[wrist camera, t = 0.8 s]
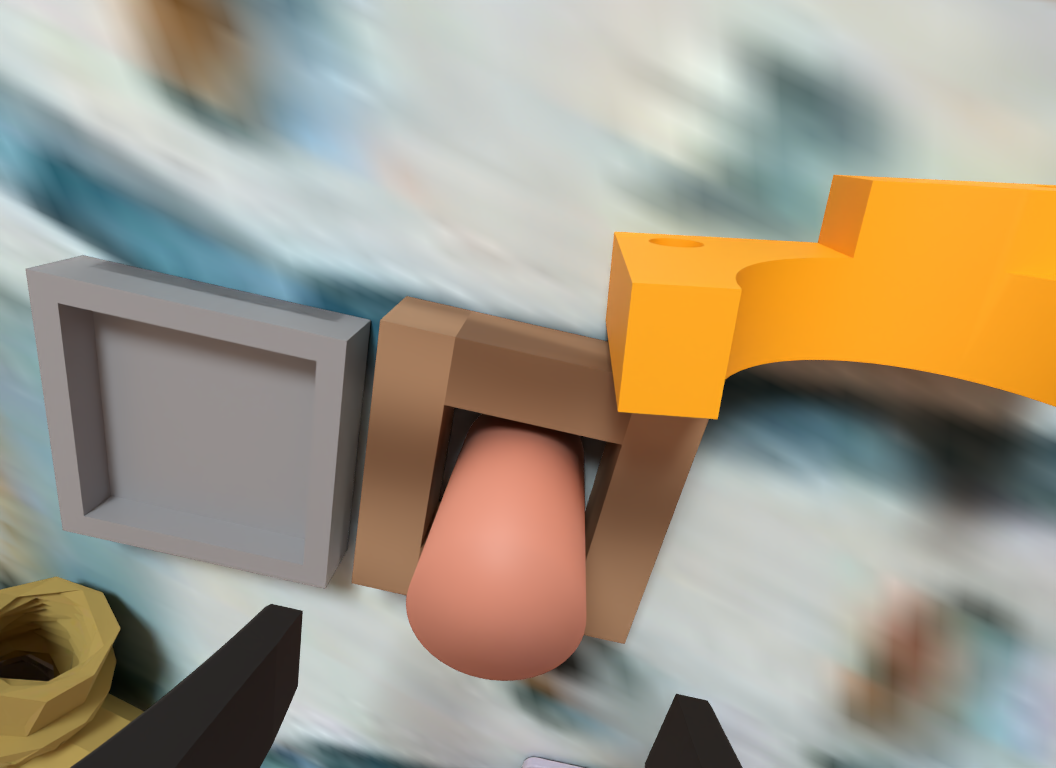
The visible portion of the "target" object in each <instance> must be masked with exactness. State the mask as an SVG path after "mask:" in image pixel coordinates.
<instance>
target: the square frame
mask: <svg viewBox="0 0 1056 768" xmlns="http://www.w3.org/2000/svg"><path fill="white" fill-rule="evenodd" d="M455 407H456V408H460V409H465V410H469V411H474V412H478V413H483V414H487V415H492V416H496V417H500V418H505V419H509V420H514V421H518V422H523V423H527V424H532V425H536V426H541V427H545V428H549V429H554V430H558V431H563V432H567V433H572V434H576V435H581V436H585V437H589V438H594V439H598V440H603V441H606V444H605V448H604V451H603V454H602V458H601V461H600V464H599V468H598V471H597V474H596V478H595V481H594V484H593V488H592V491H591V494H590V497H589V501H588V504H587V507H586V511H585V556H586V627H585V631H584V635H587V636H591V637H596V638H600V639H605V640H609V641H614V642H618V643H623V644H625V641H626V638H627V636H628V633H629V630H630V628H631V625H632V622H633V620H634V617H635V614H636V612H637V609H638V607H639V604H640V601H641V599H642V596H643V593H644V591H645V588H646V585H647V583H648V580H649V577H650V575H651V572H652V569H653V567H654V564H655V561H656V559H657V556H658V553H659V551H660V548H661V545H662V543H663V540H664V537H665V535H666V532H667V529H668V527H669V524H670V521H671V519H672V516H673V513H674V511H675V508H676V505H677V503H678V500H679V497H680V495H681V492H682V489H683V487H684V484H685V481H686V479H687V476H688V473H689V471H690V468H691V465H692V463H693V460H694V457H695V455H696V452H697V449H698V447H699V444H700V441H701V439H702V436H703V433H704V431H705V428H706V425H707V423H708V420H709V419H708V418H694V417H681V416H667V415H654V414H640V413H626V412H618V409H617V401H616V394H615V386H614V379H613V371H612V364H611V356H610V349H609V342H607V341H603V340H599V339H594V338H590V337H585V336H581V335H576V334H572V333H568V332H563V331H559V330H554V329H550V328H545V327H541V326H537V325H532V324H528V323H523V322H519V321H514V320H510V319H506V318H501V317H497V316H492V315H488V314H483V313H479V312H475V311H470V310H466V309H461V308H457V307H452V306H448V305H444V304H439V303H435V302H430V301H426V300H421V299H417V298H413V297H408V296H406V297H405V298H404V299H403V300H402V301H401V302H400V303H399V304H398V305H396V306H395V307H394V308H393V309H392V310H391V311H390V312H389V313H388V314H387V315H385V316H384V317H383V318H382V319H381V320H380V328H379V337H378V346H377V355H376V364H375V373H374V382H373V392H372V401H371V410H370V419H369V428H368V437H367V446H366V455H365V464H364V474H363V483H362V492H361V501H360V510H359V519H358V528H357V537H356V546H355V556H354V565H353V574H352V583H354V584H358V585H363V586H367V587H372V588H376V589H381V590H385V591H390V592H394V593H398V594H403V595H407V592H408V588H409V585H410V582H411V580H412V577H413V575H414V572H415V569H416V567H417V564H418V561H419V559H420V556H421V553H422V551H423V548H424V545H425V543H426V540H427V538H428V535H429V532H430V530H431V527H432V524H433V522H434V519H435V516H436V514H437V511H438V509H439V506H440V503H441V502H439V496H440V490H441V484H442V479H443V473H444V467H445V461H446V456H447V450H448V444H449V439H450V433H451V427H452V421H453V416H454V410H455Z"/></svg>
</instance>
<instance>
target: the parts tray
mask: <svg viewBox="0 0 1056 768" xmlns="http://www.w3.org/2000/svg"><path fill="white" fill-rule="evenodd" d="M26 275H27V282H28V289H29V296H30V303H31V310H32V317H33V324H34V331H35V338H36V345H37V352H38V359H39V366H40V373H41V380H42V387H43V394H44V401H45V408H46V415H47V422H48V429H49V436H50V443H51V450H52V458H53V465H54V472H55V479H56V486H57V493H58V500H59V507H60V514H61V521H62V528H63V530H64V531H69V532H73V533H78V534H82V535H87V536H91V537H96V538H100V539H105V540H109V541H114V542H118V543H123V544H127V545H132V546H136V547H141V548H145V549H150V550H154V551H159V552H163V553H167V554H172V555H176V556H181V557H185V558H190V559H194V560H199V561H203V562H208V563H212V564H217V565H221V566H226V567H230V568H235V569H239V570H244V571H248V572H253V573H257V574H262V575H266V576H271V577H275V578H280V579H284V580H289V581H293V582H298V583H302V584H307V585H311V586H316V587H320V588H324V589H325V588H326V587H327V585H328V583H329V581H330V579H331V578H332V576H333V574H334V572H335V571H336V569H337V567H338V565H339V564H340V562H341V560H342V558H343V556H344V555H345V553H346V551H347V547H348V537H349V527H350V518H351V508H352V498H353V488H354V479H355V469H356V459H357V450H358V440H359V430H360V420H361V411H362V401H363V391H364V381H365V372H366V362H367V352H368V343H369V333H370V323H371V320H368V319H363V318H359V317H355V316H350V315H346V314H341V313H337V312H332V311H328V310H324V309H319V308H315V307H310V306H306V305H301V304H297V303H292V302H288V301H284V300H279V299H275V298H270V297H266V296H261V295H257V294H253V293H248V292H244V291H239V290H235V289H230V288H226V287H222V286H217V285H213V284H208V283H204V282H199V281H195V280H190V279H186V278H182V277H177V276H173V275H168V274H164V273H159V272H155V271H151V270H146V269H142V268H137V267H133V266H128V265H124V264H119V263H115V262H111V261H106V260H102V259H97V258H93V257H88V256H84V255H82V256H78V257H73V258H69V259H65V260H61V261H56V262H52V263H48V264H44V265H39V266H35V267H31V268H27V269H26Z"/></svg>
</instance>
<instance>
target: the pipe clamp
mask: <svg viewBox="0 0 1056 768" xmlns="http://www.w3.org/2000/svg"><path fill="white" fill-rule="evenodd" d="M606 327H607V334H608V342H609V349H610V356H611V364H612V371H613V379H614V386H615V394H616V401H617V409H618V412H626V413H640V414H654V415H667V416H681V417H694V418H708V419H718V414H719V409H720V404H721V398H722V393H723V388H724V382H725V379H727V378H728V377H729V376H731V375H733V374H735V373H737V372H739V371H741V370H744V369H747V368H750V367H753V366H757V365H761V364H767V363H773V362H781V361H793V360H839V361H854V362H864V363H874V364H882V365H889V366H896V367H902V368H909V369H915V370H920V371H925V372H931V373H936V374H940V375H945V376H950V377H954V378H959V379H963V380H967V381H971V382H975V383H979V384H983V385H987V386H990V387H994V388H998V389H1001V390H1005V391H1008V392H1012V393H1015V394H1018V395H1022V396H1025V397H1028V398H1031V399H1034V400H1037V401H1040V402H1043V403H1046V404H1049V405H1052V406H1055V407H1056V185H1036V184H1015V183H994V182H973V181H952V180H931V179H910V178H889V177H868V176H847V175H834V176H833V180H832V184H831V188H830V193H829V197H828V201H827V206H826V210H825V214H824V218H823V223H822V227H821V231H820V236H819V240H818V243H812V242H793V241H775V240H757V239H738V238H720V237H702V236H683V235H665V234H646V233H628V232H614V241H613V251H612V262H611V272H610V282H609V292H608V303H607V313H606Z"/></svg>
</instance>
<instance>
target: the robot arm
mask: <svg viewBox="0 0 1056 768" xmlns="http://www.w3.org/2000/svg"><path fill="white" fill-rule="evenodd" d="M302 614H303V611H301V610H296V609H292V608H287V607H283V606H278V605H274V604H270V605H268V606H266V607H265V608H264V609H263V610H262V611H260V612H259V613H258V614H257V615H256V616H255V617H254V618H253V619H252V620H251V621H250V622H249V623H248V624H247V625H245V626H244V627H243V628H242V629H241V630H240V631H239V632H238V633H237V634H236V635H235V636H233V637H232V638H231V639H230V640H229V641H228V642H227V643H226V644H225V645H223V646H222V647H221V648H220V649H219V650H218V651H217V652H215V653H214V654H213V655H212V656H211V657H210V658H209V659H207V660H206V661H205V662H204V663H203V664H202V665H201V666H199V667H198V668H197V669H196V670H195V671H193V672H192V673H191V674H190V675H189V676H187V677H186V678H185V679H184V680H183V681H181V682H180V683H179V684H178V685H177V686H175V687H174V688H173V689H172V690H171V691H169V692H168V693H167V694H166V695H165V696H163V697H162V698H161V699H160V700H159V701H157V702H156V703H155V704H154V705H152V706H151V707H150V708H148V709H147V710H146V711H145V712H143V713H142V714H141V715H139V716H138V717H137V718H136V719H134V720H133V721H132V722H130V723H129V724H128V725H126V726H125V727H124V728H123V729H121V730H120V731H119V732H117V733H116V734H115V735H114V736H112V737H111V738H110V739H108V740H107V741H106V742H104V743H103V744H102V745H100V746H99V747H98V748H96V749H95V750H94V751H92V752H91V753H89V754H88V755H87V756H85V757H84V758H83V759H81V760H80V761H78V762H77V763H76V764H74V765H73V766H71V767H70V768H260V766H261V764H262V763H263V761H264V759H265V757H266V755H267V753H268V752H269V750H270V748H271V746H272V744H273V742H274V740H275V737H276V735H277V733H278V731H279V728H280V726H281V724H282V722H283V719H284V717H285V715H286V712H287V710H288V708H289V705H290V703H291V701H292V698H293V696H294V694H295V691H296V689H297V687H298V674H299V659H300V644H301V629H302ZM522 768H583V767H578V766H574V765H569V764H565V763H560V762H556V761H551V760H547V759H542V758H538V757H530V758H528V759H526V760H525V761H524V762H523V765H522ZM645 768H742V766H741V764H740V762H739V760H738V758H737V756H736V754H735V752H734V750H733V748H732V746H731V744H730V742H729V740H728V739H727V737H726V735H725V733H724V731H723V729H722V727H721V725H720V723H719V721H718V719H717V717H716V715H715V713H714V711H713V709H712V707H711V705H710V704H709V702H708V701H707V700H702V699H698V698H693V697H689V696H684V695H679V694H676V695H675V697H674V700H673V702H672V704H671V706H670V709H669V711H668V713H667V715H666V717H665V720H664V722H663V724H662V726H661V729H660V731H659V733H658V735H657V738H656V740H655V742H654V744H653V747H652V749H651V751H650V753H649V755H648V758H647V760H646V762H645Z"/></svg>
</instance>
